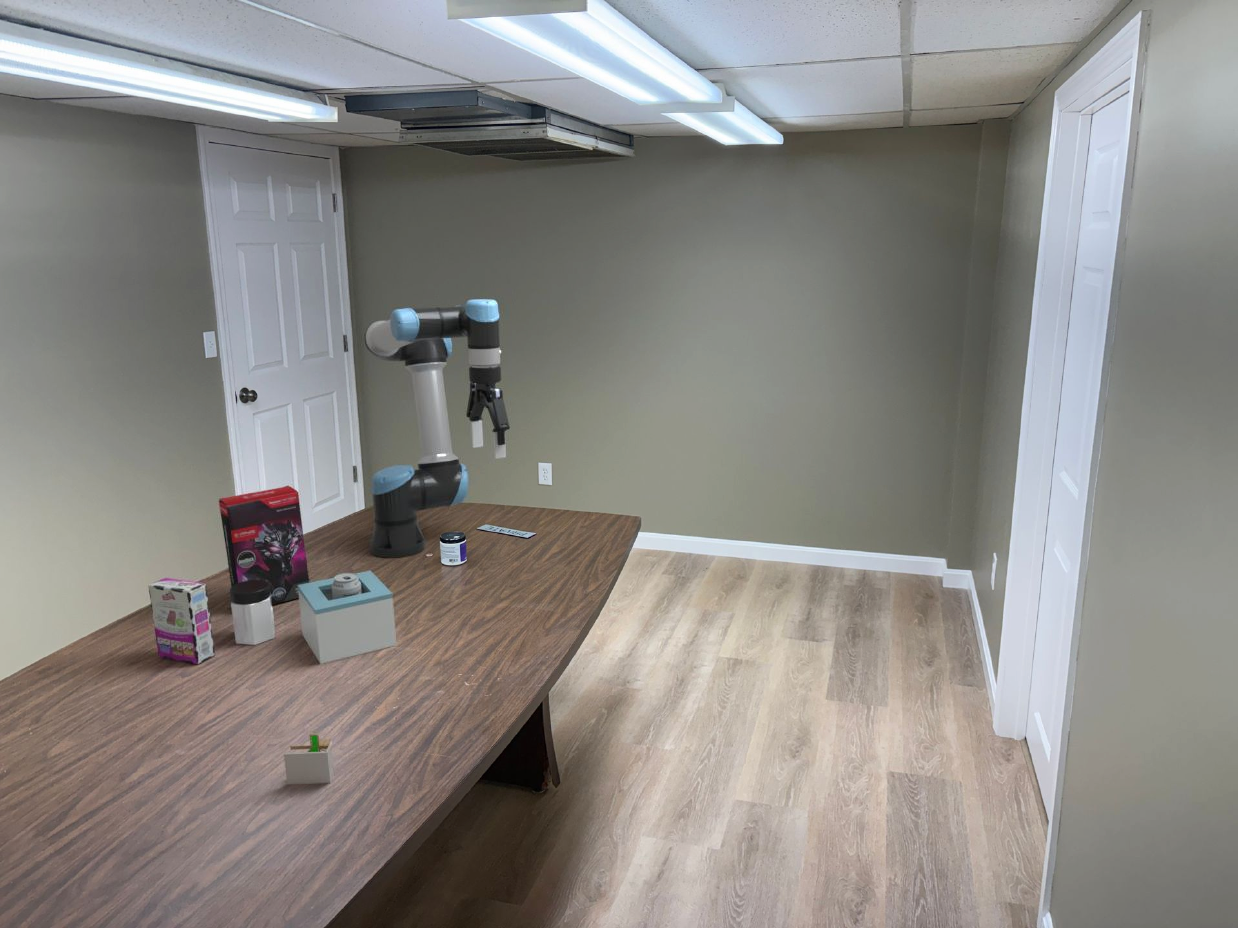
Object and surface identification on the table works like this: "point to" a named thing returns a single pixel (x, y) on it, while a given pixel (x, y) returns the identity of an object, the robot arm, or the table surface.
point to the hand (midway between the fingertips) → (488, 452)
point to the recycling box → (347, 618)
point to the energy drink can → (345, 585)
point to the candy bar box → (182, 620)
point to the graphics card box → (266, 540)
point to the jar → (252, 612)
